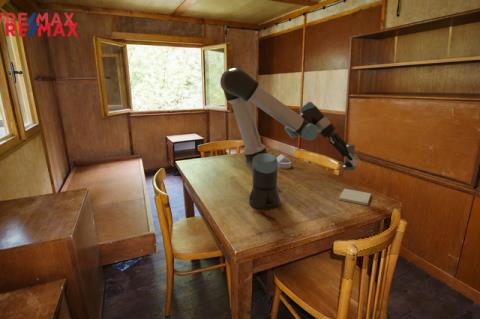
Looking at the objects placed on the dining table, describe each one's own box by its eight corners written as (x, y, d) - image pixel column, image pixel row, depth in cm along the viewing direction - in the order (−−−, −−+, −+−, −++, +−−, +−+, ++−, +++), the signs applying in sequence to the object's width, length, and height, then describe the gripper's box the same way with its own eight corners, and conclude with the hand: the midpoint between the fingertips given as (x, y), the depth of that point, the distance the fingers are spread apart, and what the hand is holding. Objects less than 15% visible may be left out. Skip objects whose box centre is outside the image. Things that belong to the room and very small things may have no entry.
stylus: (354, 171, 131) (356, 147, 128) (340, 169, 134) (342, 146, 131) (355, 167, 137) (358, 144, 133) (342, 165, 140) (344, 143, 136)
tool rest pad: (367, 205, 128) (367, 203, 128) (338, 199, 134) (339, 197, 134) (370, 195, 139) (371, 193, 138) (344, 190, 145) (344, 188, 145)
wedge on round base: (274, 163, 194) (279, 168, 182) (275, 154, 192) (280, 159, 180) (287, 162, 195) (292, 168, 183) (287, 153, 194) (293, 158, 181)
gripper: (326, 125, 127) (361, 163, 124) (334, 120, 141) (365, 154, 138) (314, 135, 131) (348, 172, 128) (323, 129, 145) (353, 163, 142)
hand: (357, 163), depth 133 cm, fingers closed on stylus, 4 cm apart
